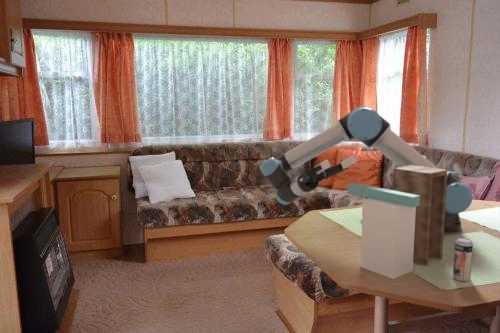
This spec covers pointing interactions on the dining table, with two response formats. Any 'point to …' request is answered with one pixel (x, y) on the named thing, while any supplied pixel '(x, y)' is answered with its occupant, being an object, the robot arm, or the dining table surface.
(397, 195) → the bar
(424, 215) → the tall wooden grooved block
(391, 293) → the dining table surface
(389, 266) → the pillar
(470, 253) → the beer can
